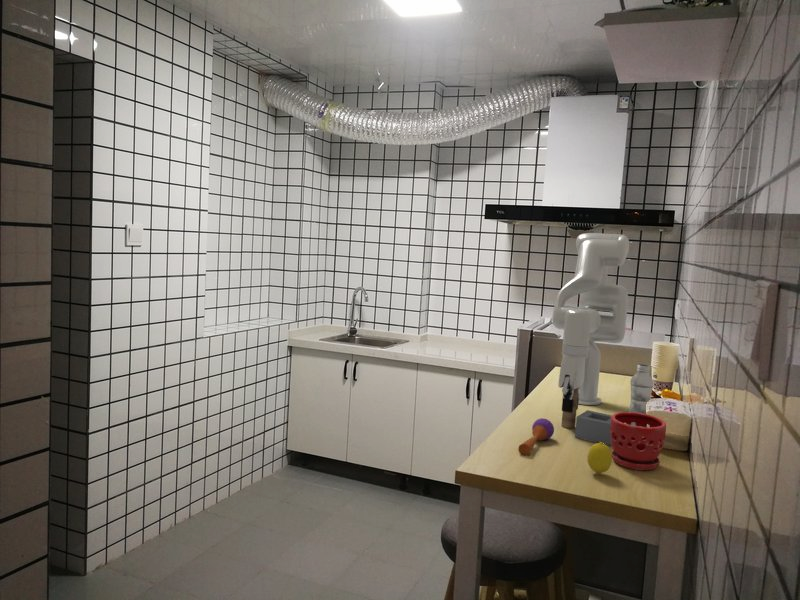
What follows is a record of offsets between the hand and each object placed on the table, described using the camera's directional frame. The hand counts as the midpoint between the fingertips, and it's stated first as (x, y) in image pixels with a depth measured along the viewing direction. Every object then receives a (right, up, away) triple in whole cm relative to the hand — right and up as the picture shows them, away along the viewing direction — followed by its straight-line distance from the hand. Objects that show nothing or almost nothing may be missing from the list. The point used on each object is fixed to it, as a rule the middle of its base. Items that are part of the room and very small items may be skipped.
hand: (569, 409), depth 184 cm
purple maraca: (-15, -7, -19) cm, 25 cm away
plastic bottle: (+22, -7, +3) cm, 23 cm away
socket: (+6, -7, -8) cm, 12 cm away
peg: (0, -5, +1) cm, 5 cm away
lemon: (-4, -9, -38) cm, 39 cm away
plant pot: (+8, -9, -29) cm, 32 cm away
